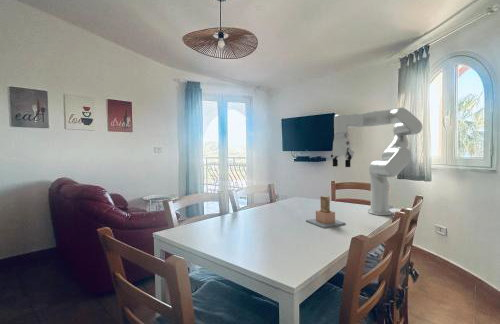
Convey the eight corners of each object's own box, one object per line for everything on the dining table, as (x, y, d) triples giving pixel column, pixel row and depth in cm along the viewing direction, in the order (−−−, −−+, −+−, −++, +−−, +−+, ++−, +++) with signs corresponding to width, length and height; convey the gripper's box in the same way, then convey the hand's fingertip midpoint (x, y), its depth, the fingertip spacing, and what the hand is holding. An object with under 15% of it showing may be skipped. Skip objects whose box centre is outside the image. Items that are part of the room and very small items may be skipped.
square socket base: (326, 218, 145) (326, 207, 145) (345, 224, 133) (345, 212, 133) (305, 221, 139) (305, 210, 139) (323, 228, 127) (323, 215, 127)
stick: (325, 218, 138) (325, 195, 138) (329, 219, 135) (329, 196, 135) (320, 219, 137) (320, 196, 136) (324, 220, 134) (324, 197, 133)
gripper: (358, 135, 142) (358, 167, 143) (335, 137, 158) (335, 165, 158) (347, 135, 139) (348, 167, 140) (325, 137, 155) (325, 166, 155)
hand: (341, 166), depth 149 cm, fingers open, 9 cm apart
